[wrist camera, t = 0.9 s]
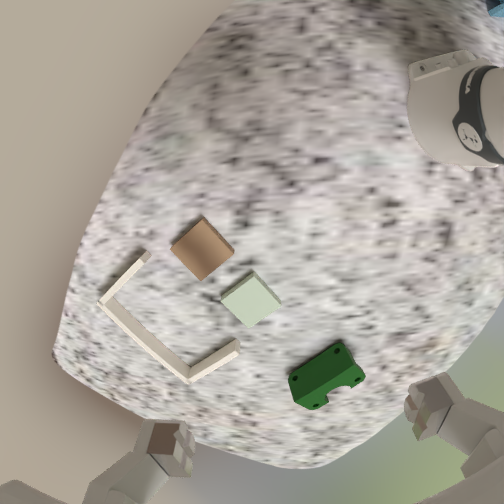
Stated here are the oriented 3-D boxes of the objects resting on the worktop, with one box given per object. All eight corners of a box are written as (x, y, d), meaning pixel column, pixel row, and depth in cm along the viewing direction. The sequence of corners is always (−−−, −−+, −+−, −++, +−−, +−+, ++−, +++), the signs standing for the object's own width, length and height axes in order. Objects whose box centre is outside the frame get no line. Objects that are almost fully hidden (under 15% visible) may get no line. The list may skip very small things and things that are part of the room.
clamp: (308, 368, 51) (304, 412, 44) (290, 355, 48) (285, 403, 41) (367, 353, 44) (368, 401, 38) (353, 338, 42) (354, 391, 35)
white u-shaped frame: (146, 250, 39) (139, 258, 36) (240, 342, 44) (239, 354, 41) (104, 294, 41) (96, 303, 38) (191, 373, 46) (188, 385, 43)
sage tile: (254, 270, 40) (254, 276, 38) (280, 299, 42) (281, 306, 40) (222, 294, 41) (220, 301, 39) (248, 321, 43) (248, 328, 41)
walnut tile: (204, 216, 37) (202, 219, 36) (234, 249, 39) (233, 254, 37) (173, 244, 39) (169, 249, 37) (203, 275, 40) (200, 281, 38)
